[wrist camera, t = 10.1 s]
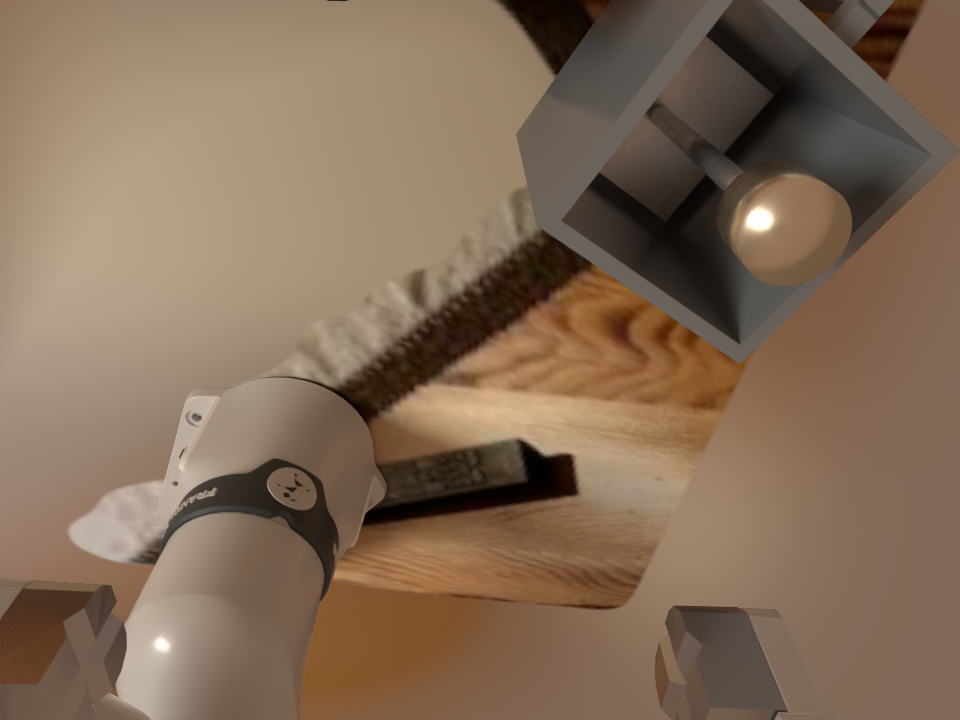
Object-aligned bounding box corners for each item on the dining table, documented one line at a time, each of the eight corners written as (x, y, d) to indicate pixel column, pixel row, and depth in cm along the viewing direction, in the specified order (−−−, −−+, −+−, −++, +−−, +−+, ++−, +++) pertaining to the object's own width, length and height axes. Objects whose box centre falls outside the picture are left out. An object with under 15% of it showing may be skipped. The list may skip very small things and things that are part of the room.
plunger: (661, 216, 48) (787, 394, 29) (549, 133, 45) (604, 268, 26) (768, 92, 44) (997, 202, 25) (651, -9, 41) (807, 27, 22)
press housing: (658, 237, 50) (739, 363, 35) (516, 134, 47) (536, 224, 31) (829, 40, 44) (1022, 90, 28) (678, -99, 40) (807, -130, 24)
